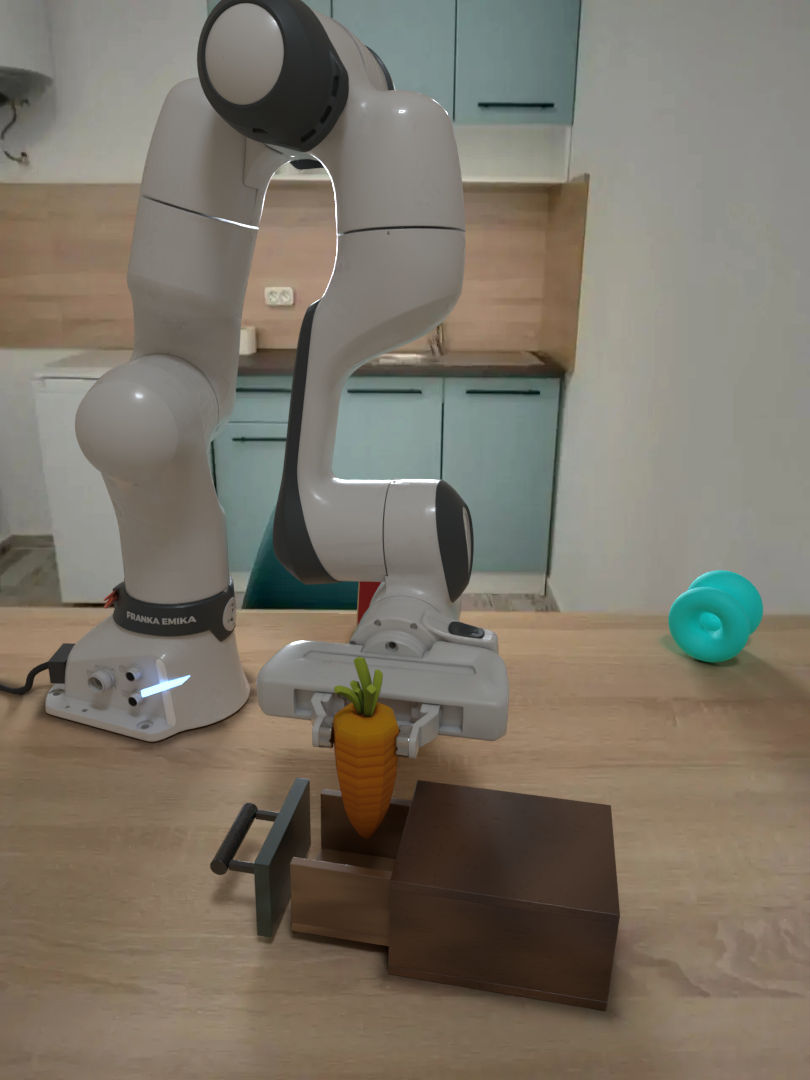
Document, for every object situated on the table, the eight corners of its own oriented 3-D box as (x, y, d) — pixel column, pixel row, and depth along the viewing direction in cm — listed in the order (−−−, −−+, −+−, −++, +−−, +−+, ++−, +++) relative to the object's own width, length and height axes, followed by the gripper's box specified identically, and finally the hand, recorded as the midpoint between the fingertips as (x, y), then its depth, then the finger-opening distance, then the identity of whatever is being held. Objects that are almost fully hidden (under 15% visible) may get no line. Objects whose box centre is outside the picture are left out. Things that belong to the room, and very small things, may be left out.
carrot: (390, 864, 61) (392, 687, 56) (326, 854, 62) (321, 679, 57) (404, 820, 66) (406, 653, 61) (343, 812, 67) (340, 646, 61)
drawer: (204, 927, 63) (198, 855, 61) (251, 835, 73) (248, 770, 70) (447, 967, 60) (452, 893, 58) (463, 867, 70) (467, 800, 67)
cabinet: (388, 974, 61) (390, 880, 58) (414, 863, 71) (417, 779, 68) (606, 1011, 58) (620, 915, 55) (599, 890, 69) (611, 804, 66)
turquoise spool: (660, 652, 109) (670, 582, 105) (684, 625, 116) (694, 559, 113) (739, 675, 103) (752, 603, 100) (758, 646, 111) (771, 577, 108)
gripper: (283, 612, 73) (224, 691, 61) (516, 633, 70) (505, 722, 57) (286, 674, 76) (230, 764, 63) (511, 698, 72) (500, 798, 60)
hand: (363, 744), depth 60 cm, fingers closed on carrot, 5 cm apart
